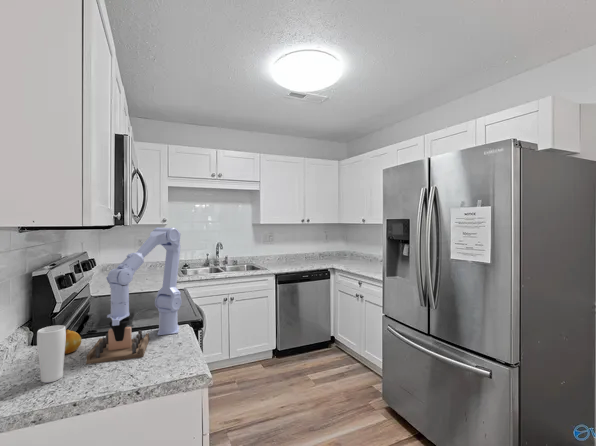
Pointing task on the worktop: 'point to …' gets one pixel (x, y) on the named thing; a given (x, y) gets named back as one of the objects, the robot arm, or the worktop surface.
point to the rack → (117, 350)
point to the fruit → (72, 341)
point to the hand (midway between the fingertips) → (120, 339)
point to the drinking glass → (51, 352)
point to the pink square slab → (120, 344)
